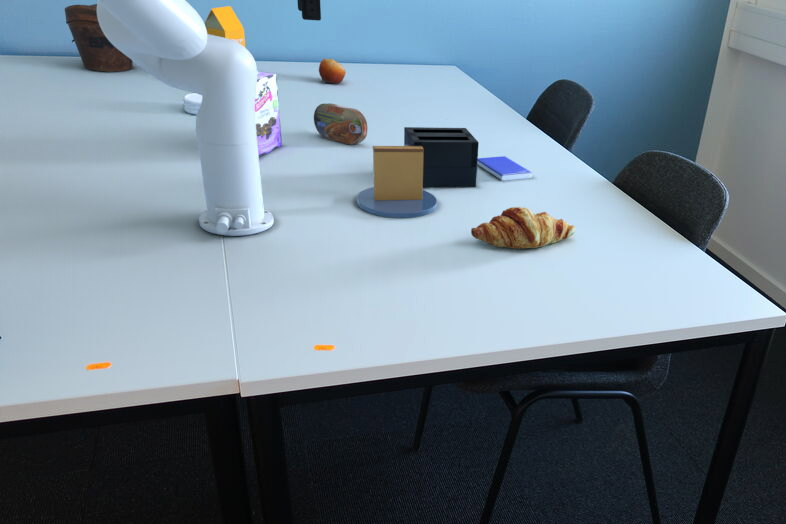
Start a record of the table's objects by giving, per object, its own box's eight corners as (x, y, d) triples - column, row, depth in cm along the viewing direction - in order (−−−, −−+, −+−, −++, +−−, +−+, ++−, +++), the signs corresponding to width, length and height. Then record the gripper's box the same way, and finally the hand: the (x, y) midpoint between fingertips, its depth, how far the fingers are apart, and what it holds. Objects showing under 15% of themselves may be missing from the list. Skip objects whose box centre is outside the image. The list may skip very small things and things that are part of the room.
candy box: (252, 161, 165) (244, 84, 156) (227, 157, 165) (218, 80, 157) (283, 145, 176) (277, 72, 168) (260, 141, 177) (253, 69, 168)
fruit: (310, 74, 234) (323, 51, 233) (333, 88, 239) (345, 66, 237) (315, 80, 228) (328, 57, 227) (338, 94, 233) (351, 71, 231)
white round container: (226, 116, 192) (225, 102, 190) (184, 115, 188) (182, 101, 187) (225, 106, 200) (223, 92, 198) (184, 105, 196) (182, 91, 194)
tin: (313, 135, 186) (311, 100, 182) (322, 132, 188) (320, 98, 184) (361, 148, 181) (360, 113, 176) (369, 146, 183) (369, 111, 179)
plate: (441, 218, 148) (441, 213, 148) (358, 217, 144) (358, 212, 144) (432, 190, 161) (432, 186, 161) (355, 188, 157) (355, 184, 157)
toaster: (475, 187, 166) (478, 142, 161) (407, 188, 161) (408, 141, 156) (463, 171, 174) (465, 127, 169) (398, 171, 169) (398, 127, 164)
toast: (422, 199, 153) (423, 148, 148) (374, 200, 150) (374, 148, 144) (420, 196, 154) (421, 146, 149) (373, 197, 151) (372, 145, 146)
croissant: (564, 248, 150) (561, 208, 150) (588, 244, 141) (585, 201, 140) (465, 254, 142) (461, 211, 141) (483, 250, 133) (479, 204, 132)
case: (132, 59, 233) (121, -4, 224) (152, 73, 221) (141, 7, 212) (67, 61, 223) (53, -5, 214) (84, 76, 211) (70, 6, 201)
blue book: (532, 171, 174) (506, 155, 183) (502, 174, 170) (476, 158, 179) (531, 178, 175) (505, 162, 184) (501, 181, 171) (476, 164, 180)
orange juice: (208, 80, 221) (199, 6, 211) (227, 75, 228) (219, 3, 218) (231, 84, 219) (223, 10, 209) (249, 79, 227) (242, 7, 216)
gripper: (277, -99, 133) (284, 6, 142) (283, -94, 120) (290, 22, 129) (321, -94, 136) (325, 9, 145) (331, -89, 122) (335, 24, 131)
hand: (309, 15), depth 137 cm, fingers open, 9 cm apart
